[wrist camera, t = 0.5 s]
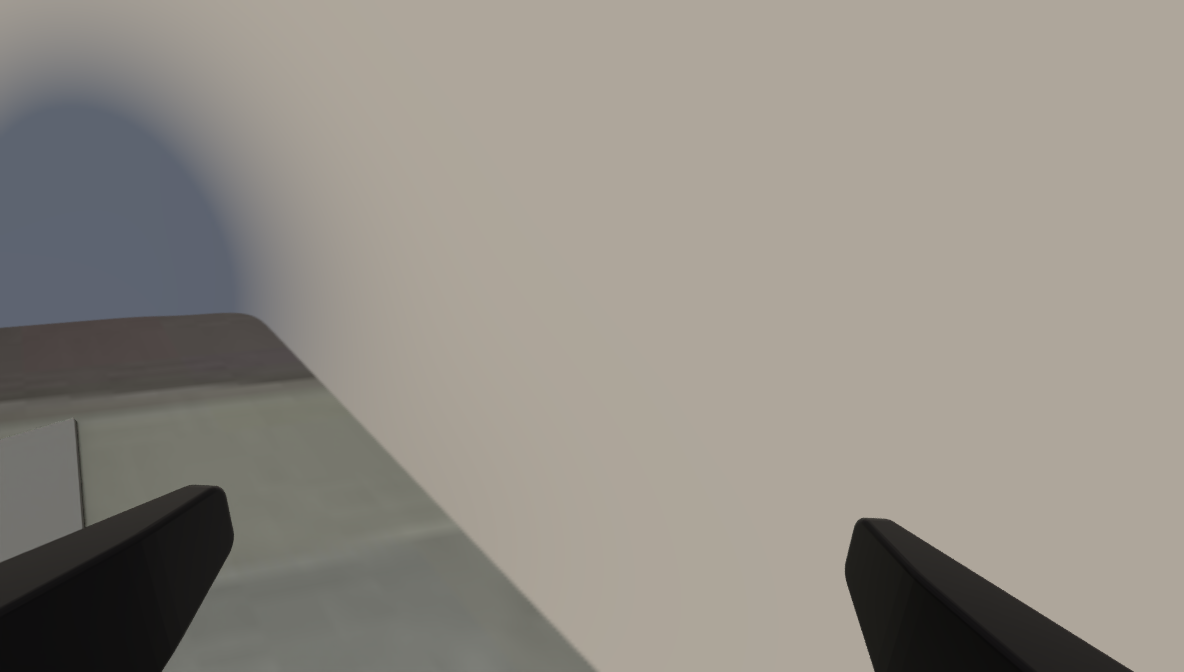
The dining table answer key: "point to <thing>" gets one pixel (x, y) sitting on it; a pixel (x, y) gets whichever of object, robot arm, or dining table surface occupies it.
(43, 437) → the mat
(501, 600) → the dining table surface
